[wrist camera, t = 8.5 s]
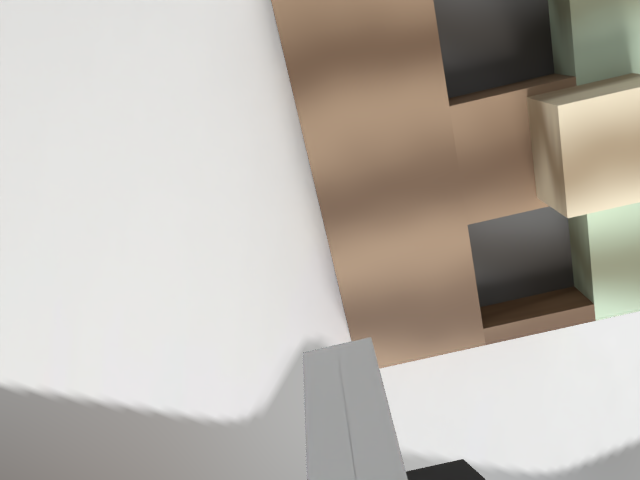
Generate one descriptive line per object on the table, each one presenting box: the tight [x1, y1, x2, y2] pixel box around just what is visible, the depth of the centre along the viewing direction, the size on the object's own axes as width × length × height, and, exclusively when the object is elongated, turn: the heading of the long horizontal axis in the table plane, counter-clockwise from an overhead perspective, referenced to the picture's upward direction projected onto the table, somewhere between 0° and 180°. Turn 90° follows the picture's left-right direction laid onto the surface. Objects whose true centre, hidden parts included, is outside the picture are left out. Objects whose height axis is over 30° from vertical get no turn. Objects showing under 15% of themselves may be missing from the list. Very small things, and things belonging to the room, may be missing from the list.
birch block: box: [527, 73, 640, 218], centre depth 27 cm, size 5×5×4 cm
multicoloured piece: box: [271, 0, 640, 368], centre depth 30 cm, size 20×19×4 cm
